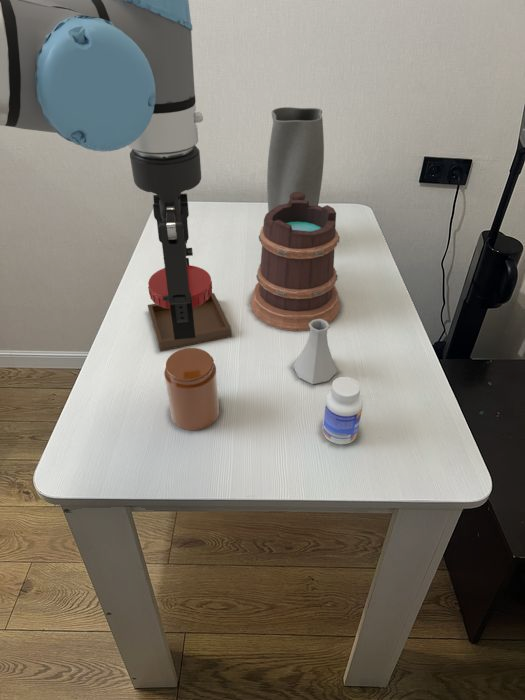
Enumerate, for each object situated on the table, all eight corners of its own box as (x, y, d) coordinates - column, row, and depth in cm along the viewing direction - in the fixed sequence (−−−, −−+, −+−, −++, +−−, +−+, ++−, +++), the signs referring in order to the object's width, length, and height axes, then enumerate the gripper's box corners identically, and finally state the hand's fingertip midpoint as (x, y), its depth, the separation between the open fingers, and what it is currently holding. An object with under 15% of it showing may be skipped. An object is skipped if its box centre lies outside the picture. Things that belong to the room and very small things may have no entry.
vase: (318, 235, 124) (329, 107, 105) (314, 258, 115) (326, 123, 96) (270, 231, 126) (272, 104, 107) (263, 254, 117) (264, 120, 97)
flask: (317, 351, 89) (322, 306, 83) (344, 374, 85) (351, 328, 78) (285, 366, 86) (288, 320, 80) (311, 390, 82) (316, 344, 75)
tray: (159, 351, 89) (158, 342, 88) (148, 312, 98) (147, 304, 97) (231, 336, 93) (231, 328, 91) (214, 300, 102) (214, 292, 100)
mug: (333, 270, 111) (343, 184, 98) (344, 331, 94) (358, 236, 81) (252, 269, 111) (251, 182, 99) (248, 330, 94) (246, 235, 81)
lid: (219, 279, 67) (218, 268, 66) (201, 313, 61) (200, 301, 60) (162, 273, 68) (161, 261, 67) (140, 305, 62) (137, 293, 61)
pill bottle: (359, 446, 73) (369, 400, 67) (323, 445, 73) (329, 399, 67) (354, 418, 77) (363, 373, 71) (320, 418, 77) (325, 372, 71)
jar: (176, 435, 74) (168, 386, 67) (167, 401, 80) (158, 352, 73) (224, 423, 76) (221, 374, 69) (212, 390, 82) (208, 341, 75)
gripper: (204, 181, 45) (217, 364, 60) (195, 118, 61) (206, 275, 76) (122, 185, 44) (155, 370, 59) (133, 120, 60) (157, 279, 75)
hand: (184, 317), depth 67 cm, fingers closed on lid, 8 cm apart
